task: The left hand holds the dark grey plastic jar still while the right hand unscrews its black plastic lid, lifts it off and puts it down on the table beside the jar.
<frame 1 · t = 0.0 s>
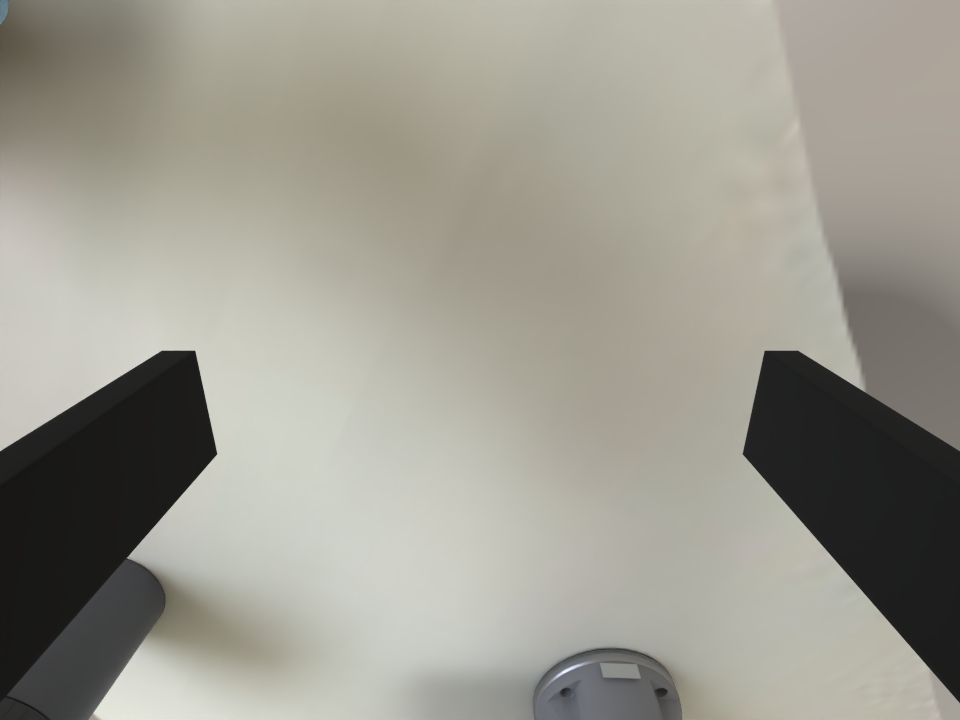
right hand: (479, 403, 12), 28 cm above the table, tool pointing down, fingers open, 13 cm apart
jar: (116, 592, 51), on the table
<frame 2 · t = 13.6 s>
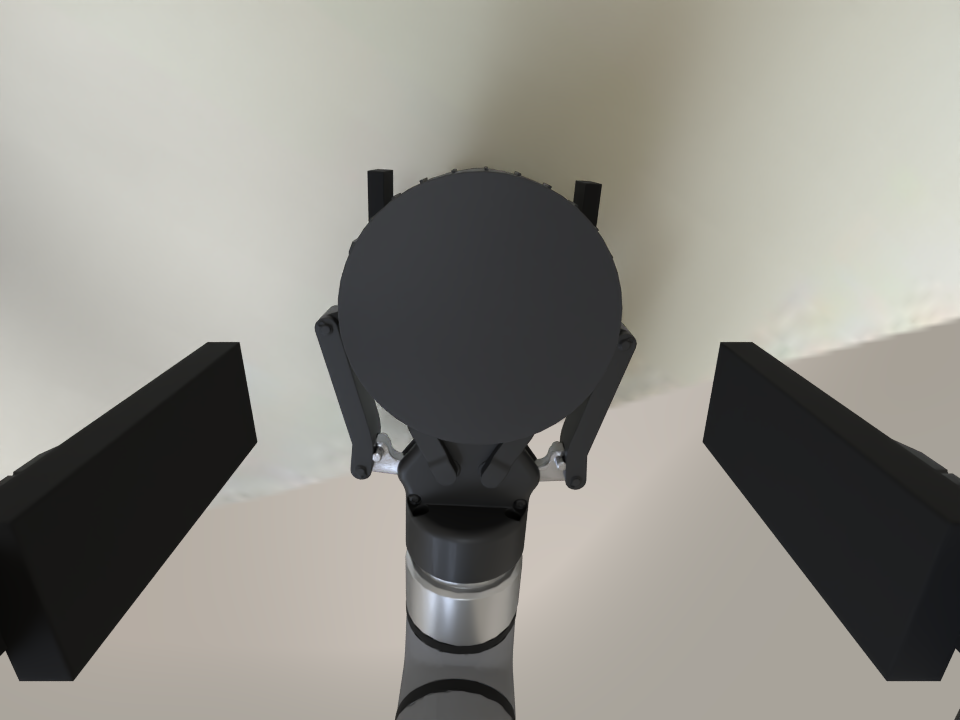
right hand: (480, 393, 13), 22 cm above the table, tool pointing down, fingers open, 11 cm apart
lid: (480, 318, 19), point 16 cm above the table, screwed on, not yet turned
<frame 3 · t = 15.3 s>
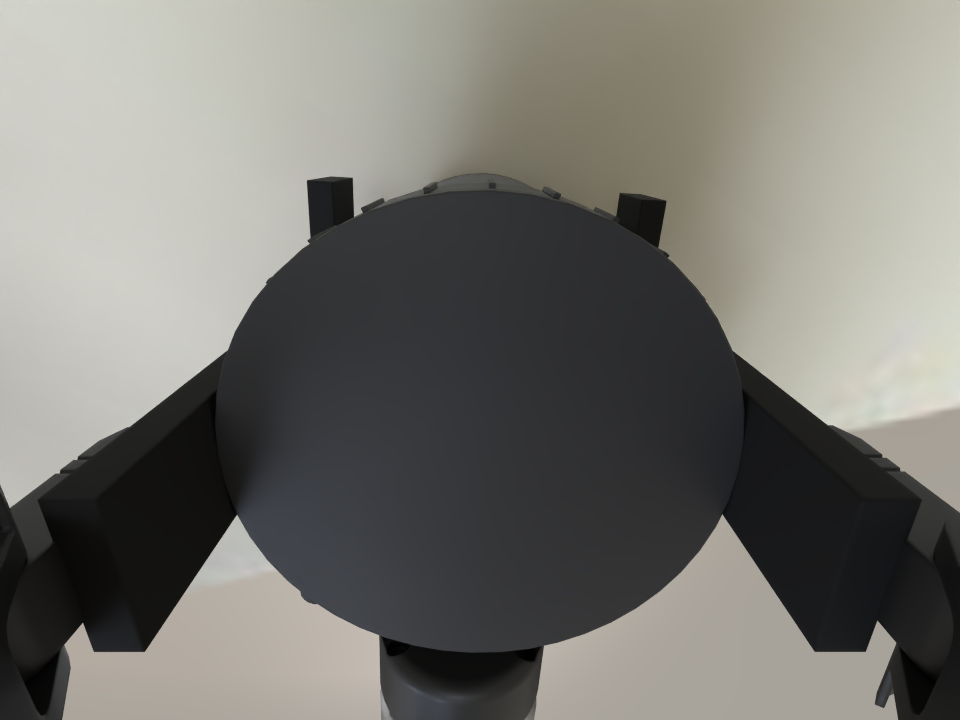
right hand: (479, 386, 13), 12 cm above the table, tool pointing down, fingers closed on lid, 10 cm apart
lid: (479, 454, 10), point 16 cm above the table, screwed on, not yet turned, touching right hand
jar: (480, 278, 25), on the table, touching left hand
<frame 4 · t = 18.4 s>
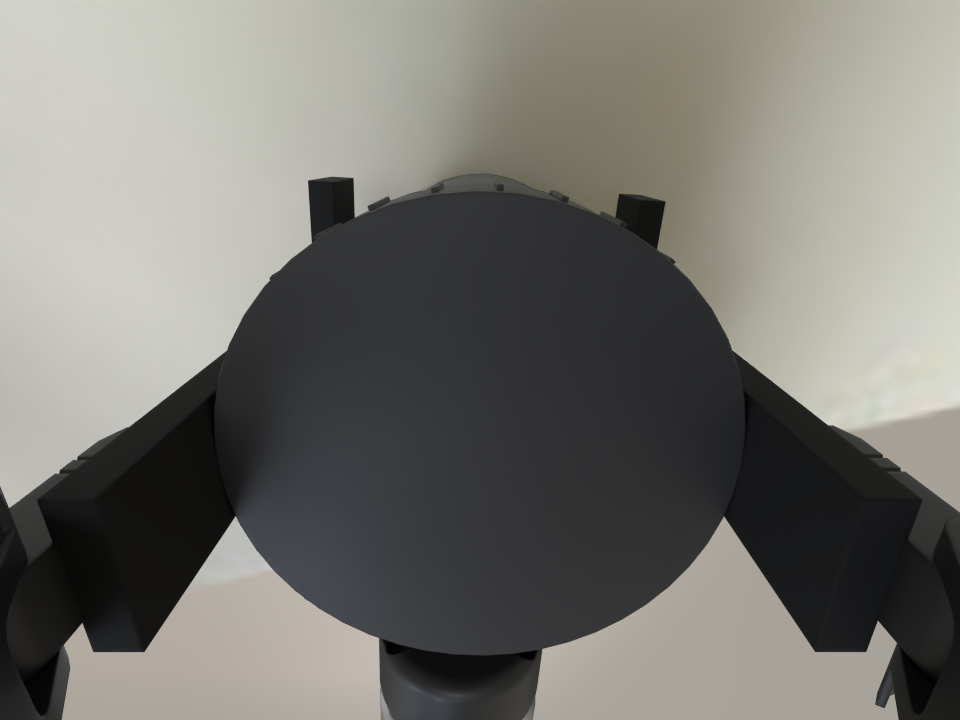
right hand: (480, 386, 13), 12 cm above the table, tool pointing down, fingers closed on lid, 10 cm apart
lid: (479, 456, 10), point 16 cm above the table, turned 86° so far, risen 0.1 cm, still on its thread, touching right hand
jar: (479, 278, 25), on the table, touching left hand
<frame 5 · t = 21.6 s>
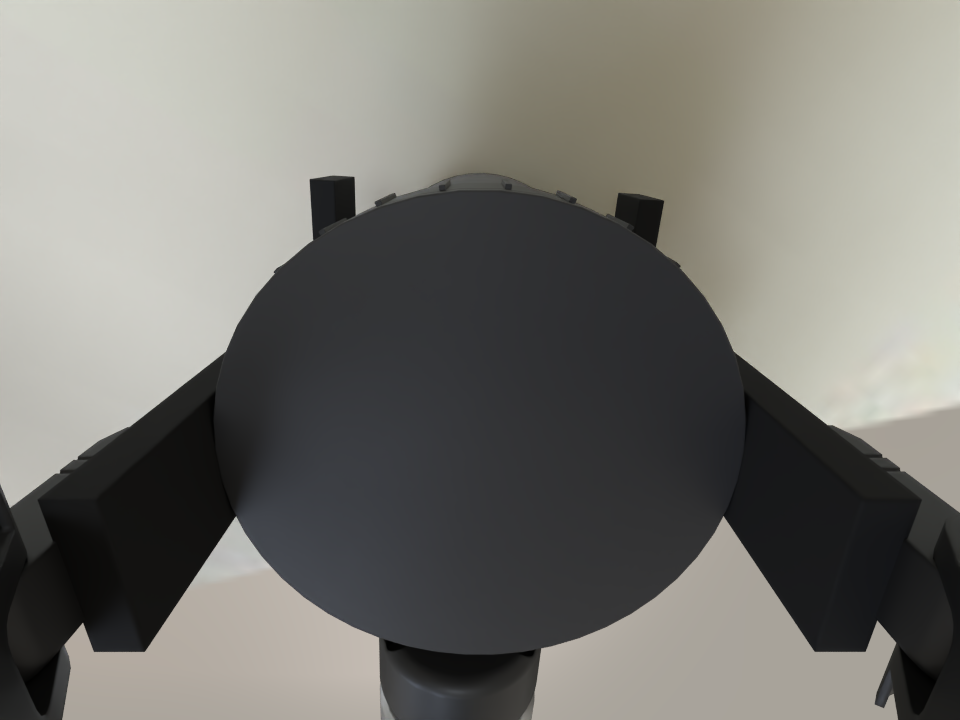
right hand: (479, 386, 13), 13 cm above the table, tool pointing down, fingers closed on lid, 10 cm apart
lid: (479, 455, 10), point 16 cm above the table, turned 171° so far, risen 0.3 cm, still on its thread, touching right hand
jar: (479, 276, 25), on the table, touching left hand
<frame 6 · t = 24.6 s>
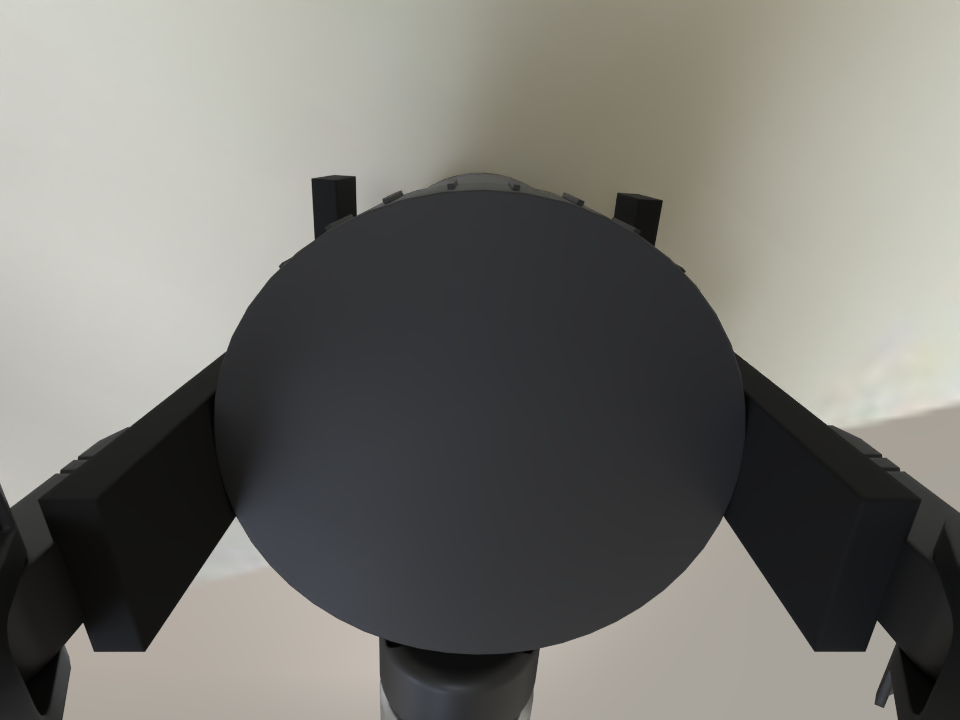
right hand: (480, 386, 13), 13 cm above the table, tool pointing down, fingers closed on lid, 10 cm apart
lid: (480, 455, 10), point 16 cm above the table, turned 256° so far, risen 0.4 cm, still on its thread, touching right hand
jar: (479, 276, 25), on the table, touching left hand
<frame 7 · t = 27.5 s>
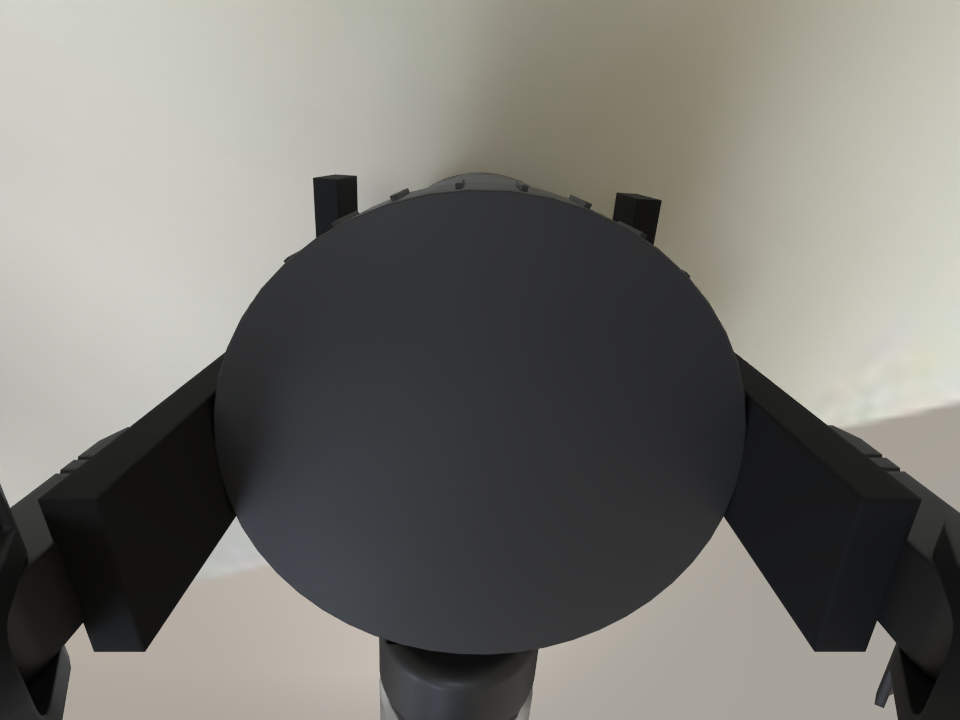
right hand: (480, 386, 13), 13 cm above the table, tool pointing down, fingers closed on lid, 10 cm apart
lid: (480, 455, 10), point 16 cm above the table, turned 342° so far, risen 0.6 cm, still on its thread, touching right hand
jar: (479, 275, 25), on the table, touching left hand
when the right hand's fingers open (0 cm above the table, at t = 35.0 s): lid drops 2 cm, point 2 cm above the table.
when the left hand's fingers open (7 cm above the table, at t = 36.0 s): jar stays where it is, on the table.
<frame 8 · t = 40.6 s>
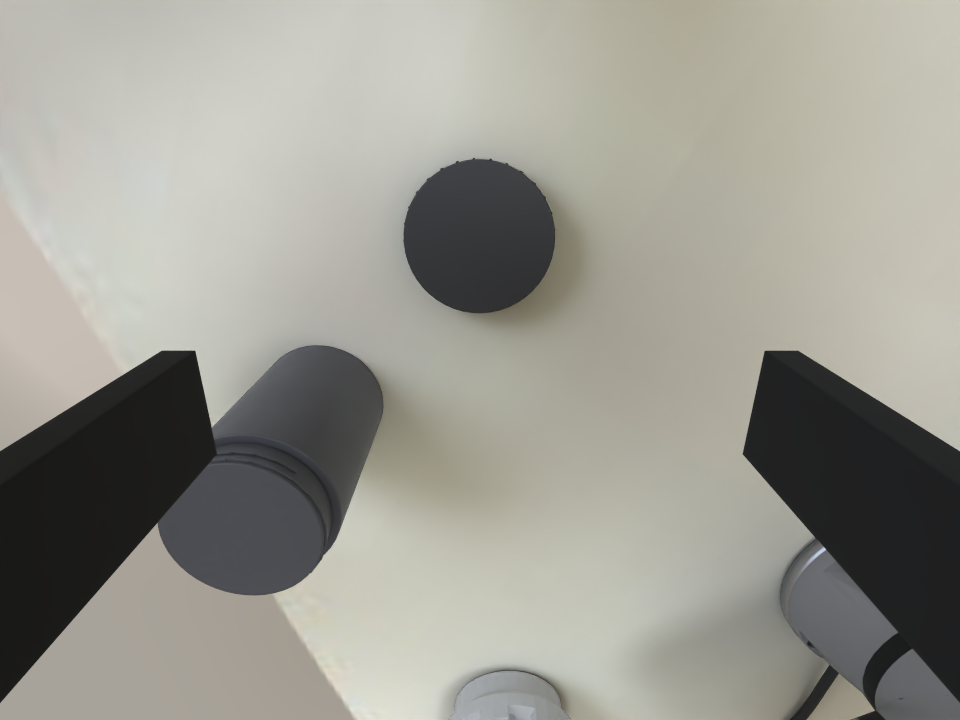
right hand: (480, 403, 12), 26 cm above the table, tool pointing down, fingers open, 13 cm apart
lid: (479, 239, 35), point 2 cm above the table, off its thread
flag stand: (507, 706, 54), on the table
jar: (324, 400, 41), on the table
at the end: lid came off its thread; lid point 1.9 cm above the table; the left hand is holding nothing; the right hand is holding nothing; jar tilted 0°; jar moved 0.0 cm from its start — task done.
